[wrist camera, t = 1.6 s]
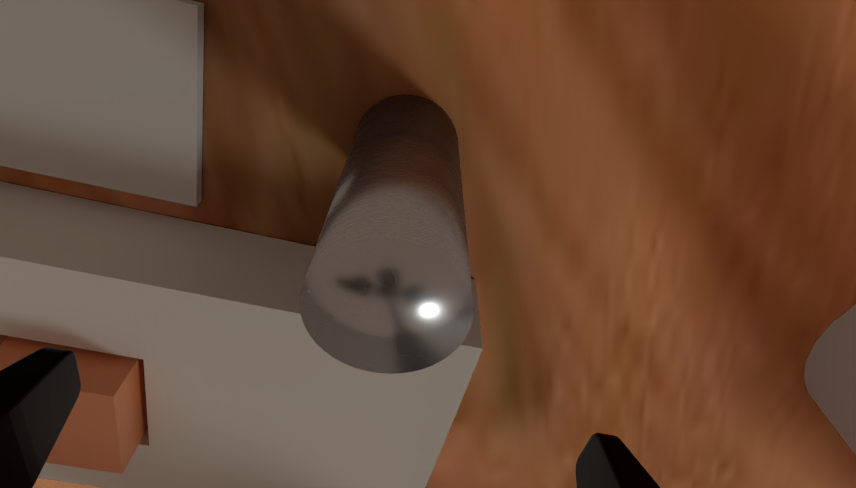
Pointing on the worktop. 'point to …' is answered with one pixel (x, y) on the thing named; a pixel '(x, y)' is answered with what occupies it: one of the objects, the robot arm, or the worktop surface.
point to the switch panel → (217, 351)
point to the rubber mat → (105, 93)
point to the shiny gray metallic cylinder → (393, 246)
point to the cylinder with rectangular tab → (835, 375)
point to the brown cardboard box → (96, 407)
